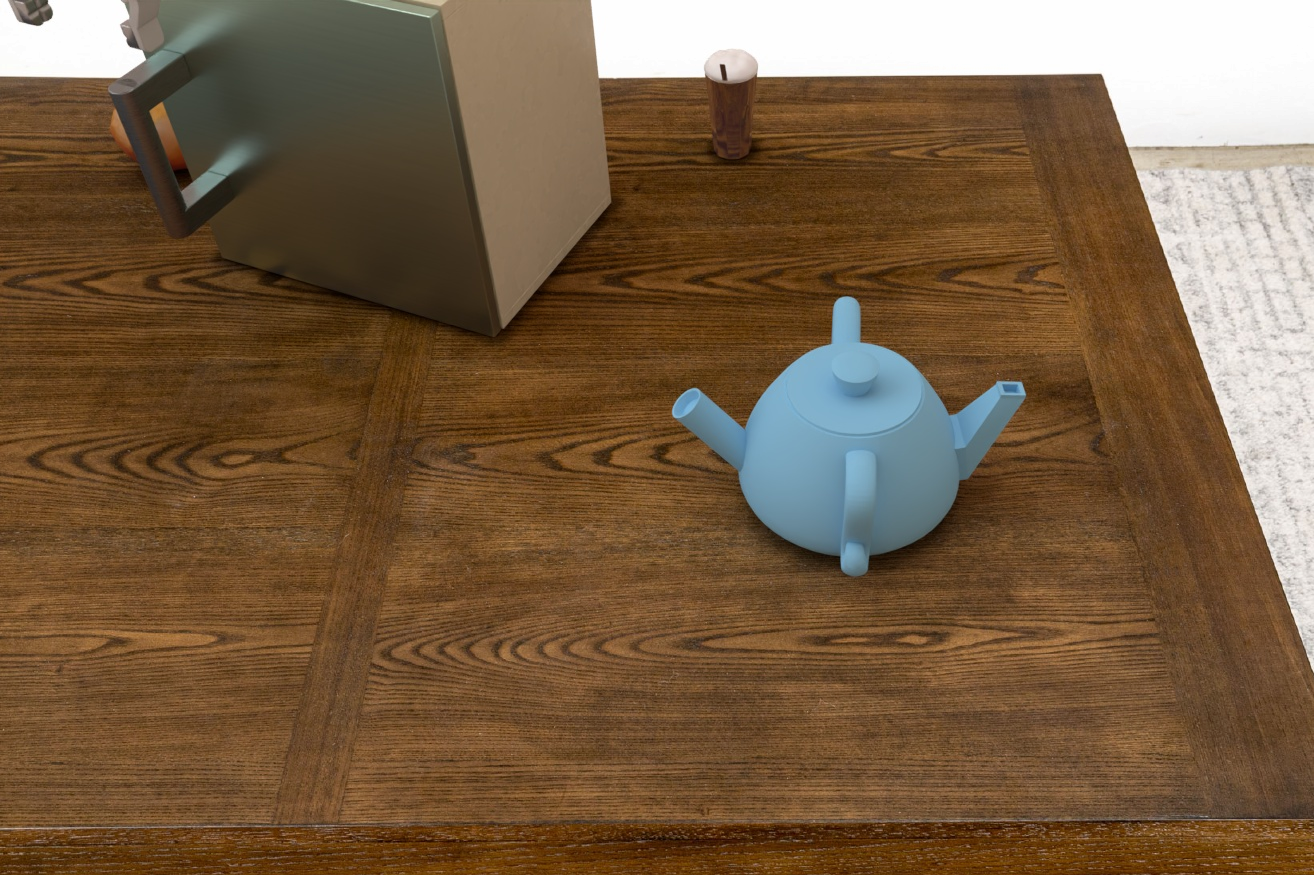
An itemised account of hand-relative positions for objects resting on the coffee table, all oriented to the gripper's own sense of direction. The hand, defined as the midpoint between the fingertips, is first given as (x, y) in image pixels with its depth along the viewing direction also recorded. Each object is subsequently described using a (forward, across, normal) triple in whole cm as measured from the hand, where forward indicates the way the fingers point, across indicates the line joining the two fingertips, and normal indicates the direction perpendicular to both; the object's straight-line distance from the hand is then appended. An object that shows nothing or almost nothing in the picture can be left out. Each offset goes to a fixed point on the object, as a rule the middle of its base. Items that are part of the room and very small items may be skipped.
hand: (91, 33), depth 83 cm
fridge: (+23, +10, +16) cm, 30 cm away
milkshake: (+24, +29, +36) cm, 52 cm away
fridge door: (+23, +10, +3) cm, 25 cm away
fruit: (+23, -17, +16) cm, 33 cm away
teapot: (+24, +52, +2) cm, 57 cm away
